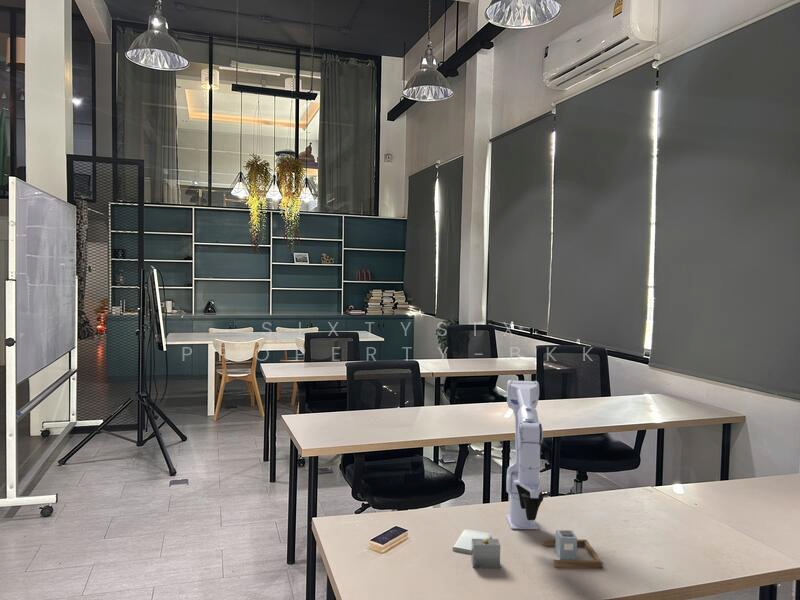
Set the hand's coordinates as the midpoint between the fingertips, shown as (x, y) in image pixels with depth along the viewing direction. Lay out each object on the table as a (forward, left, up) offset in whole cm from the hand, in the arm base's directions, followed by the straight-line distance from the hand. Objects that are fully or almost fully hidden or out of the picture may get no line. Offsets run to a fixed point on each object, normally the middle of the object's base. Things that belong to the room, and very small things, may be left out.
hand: (528, 513), depth 158 cm
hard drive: (-3, -15, -11) cm, 19 cm away
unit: (+9, -13, -10) cm, 19 cm away
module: (+3, +10, -10) cm, 14 cm away
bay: (+4, +11, -10) cm, 15 cm away
